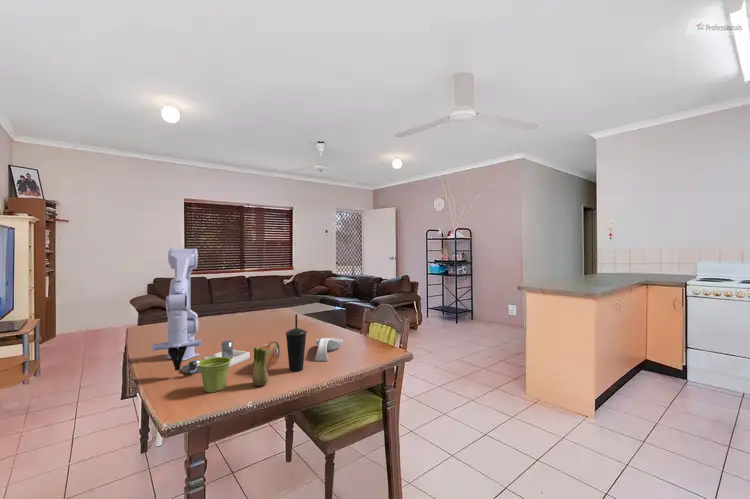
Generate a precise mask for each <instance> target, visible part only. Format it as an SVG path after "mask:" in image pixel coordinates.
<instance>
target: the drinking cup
mask: <svg viewBox="0 0 750 499" xmlns="http://www.w3.org/2000/svg"><path fill="white" fill-rule="evenodd" d="M294 318H295V319H294V320H295V322H294V323H295V325H294V326H295V328H291V329H289V330H287V331H285V332H284V333H285V337H286V346H287V347H286V348H287V356H288V357H287V358H288V359H287V361H288V369H289V371H290V372H291V373H294V372H298V373H299V372H302V371H303V370H304V360H305V352H306V339H307V334H308V331H307V330H305V329H304V328H300V327H299V328H298V314H295V316H294Z"/></svg>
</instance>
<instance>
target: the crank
mask: <svg viewBox="0 0 750 499" xmlns="http://www.w3.org/2000/svg"><path fill="white" fill-rule="evenodd" d="M200 361H201V359H193V360H191V361H189V362H188V365H189V370H190V373H191V372H196V370H197V367H198V366H199V365H198V362H200Z"/></svg>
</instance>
